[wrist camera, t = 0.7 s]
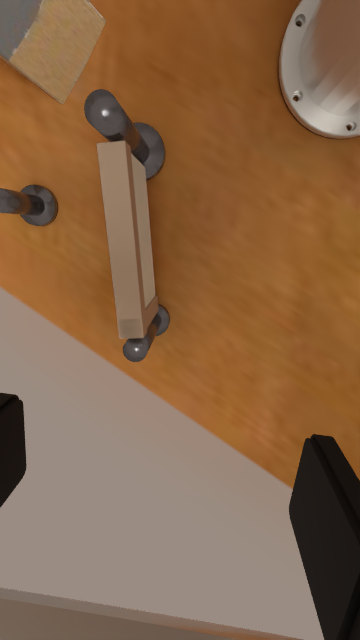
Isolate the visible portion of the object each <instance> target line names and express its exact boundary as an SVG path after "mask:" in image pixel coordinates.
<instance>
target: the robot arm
mask: <svg viewBox="0 0 360 640" xmlns="http://www.w3.org/2000/svg"><path fill="white" fill-rule="evenodd" d="M296 24H299V25H300V27H298V26H297V25H296ZM279 80H280V86H281V91H282V94H283V97H284V99H285V102H286V104H287V106H288V108H289V109H290V111H291V113H292V114H293V116H294V117H295V118H296V119H297V120H298V121H299V122H300V123H301V124H302V125H303V126H305V127H306V128H307V129H309V130H310V131H312V132H314V133H316V134H319V135H321V136H324V137H329V138H335V139H344V138H353V137H358V136H360V0H301V2H300V4H299V5H298V7H297V8H296V10H295V11H294V13H293V15H292V17H291V20H290V22H289V24H288V26H287V29H286V32H285V35H284V38H283V41H282V45H281V50H280V56H279ZM293 97H297V98H298V101H297V102H296V101H294V100H293ZM346 126H349V127H350V130H349V131H348V130H347V128H346ZM25 471H26V450H25V431H24V411H23V402H22V401H21V400H19V398H18V396H17V395H12V394H6V393H0V507H1V506H2V505H3V503H4V502H5V501H6V499H7V498H8V497H9V495H10V494H11V493H12V491H13V490H14V489H15V487H16V486H17V485H18V483H19V482H20V481H21V479H22V478H23V476H24V474H25ZM289 515H290V520H291V523H292V527H293V530H294V534H295V537H296V541H297V544H298V548H299V551H300V555H301V558H302V562H303V566H304V569H305V573H306V576H307V580H308V583H309V587H310V590H311V594H312V597H313V601H314V604H315V608H316V611H317V615H318V619H319V622H320V626H321V629H322V633H323V636H324V640H360V481H359V479H358V478H357V476H356V474H355V473H354V471H353V469H352V468H351V466H350V464H349V463H348V461H347V459H346V458H345V456H344V454H343V453H342V451H341V449H340V448H339V446H338V444H337V443H336V441H335V439H334V438H333V437H331V436H324V435H316V434H313V435H312V436H311V439H310V438H306V440H305V442H304V446H303V450H302V455H301V459H300V463H299V467H298V471H297V475H296V479H295V484H294V488H293V492H292V496H291V500H290V505H289ZM0 640H302V639H296V638H292V637H287V636H282V635H276V634H271V633H265V632H260V631H254V630H249V629H243V628H237V627H232V626H225V625H219V624H214V623H209V622H203V621H197V620H191V619H186V618H180V617H174V616H168V615H163V614H156V613H150V612H145V611H139V610H133V609H127V608H121V607H115V606H109V605H103V604H97V603H91V602H86V601H79V600H74V599H68V598H62V597H56V596H49V595H44V594H37V593H31V592H25V591H18V590H12V589H6V588H0Z"/></svg>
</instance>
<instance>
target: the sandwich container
mask: <svg viewBox="0 0 360 640" xmlns="http://www.w3.org/2000/svg"><path fill="white" fill-rule="evenodd" d="M105 23H106V20H105V19H104V17H103V16H102V15H101V14H100V13H99V12H98V11H97V10H96V8H95V7H94V6H93V5H92V4H91V3H90V2H89V1H88V0H0V59H1V60H3V61H4V62H5V63H7V64H8V65H10V66H11V67H12V68H14V69H15V70H16V71H18V72H19V73H20V74H22V75H23V76H24V77H26V78H27V79H28V80H30V81H31V82H32V83H34V84H35V85H37V86H38V87H39V88H41V89H42V90H43V91H45V92H46V93H47V94H49V95H50V96H51V97H53V98H54V99H55V100H57V101H58V102H59V103H61V104H63V103H64V102H65V101H66V99H67V97H68V95H69V94H70V92H71V90H72V88H73V86H74V85H75V83H76V81H77V79H78V78H79V76H80V74H81V72H82V71H83V69H84V67H85V65H86V63H87V61H88V59H89V57H90V55H91V53H92V51H93V48H94V46H95V44H96V42H97V40H98V38H99V36H100V34H101V32H102V30H103V28H104V25H105Z"/></svg>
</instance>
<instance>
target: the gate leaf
mask: <svg viewBox="0 0 360 640" xmlns="http://www.w3.org/2000/svg"><path fill="white" fill-rule="evenodd" d="M97 151H98V160H99V169H100V177H101V186H102V194H103V203H104V212H105V220H106V229H107V237H108V246H109V254H110V263H111V272H112V280H113V289H114V297H115V306H116V314H117V323H118V332H119V339H127V338H144V337H145V335H146V333H147V328H148V326H149V325H150V323H151V321H152V320H153V318H154V317H155V315H156V313H157V312H158V310H159V309H158V296H157V295H155V282H154V270H153V258H152V245H151V233H150V221H149V209H148V196H147V184H146V172H145V167H144V166H143V165H142V164H141V163H140V162H139V161H138V160H137V159H136V158H135V157H134V156H133V155H132V154H131V147H130V146H129V145H128V143H127V142H126V141H116V142H105V143H97Z"/></svg>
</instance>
